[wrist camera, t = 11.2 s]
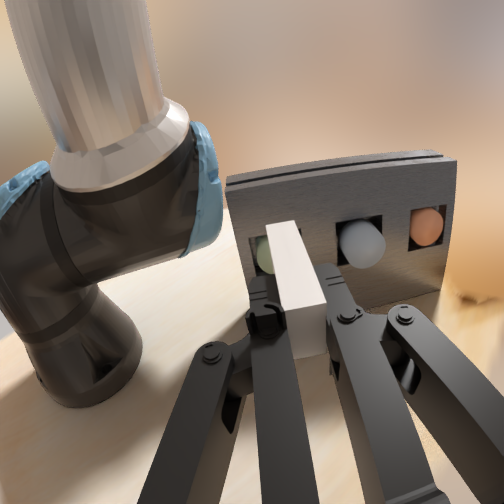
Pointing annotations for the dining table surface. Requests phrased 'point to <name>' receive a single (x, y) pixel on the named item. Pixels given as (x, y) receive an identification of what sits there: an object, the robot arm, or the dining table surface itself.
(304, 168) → the button panel
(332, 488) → the dining table surface
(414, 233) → the terracotta button
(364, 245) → the grey dome button
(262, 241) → the sage button
